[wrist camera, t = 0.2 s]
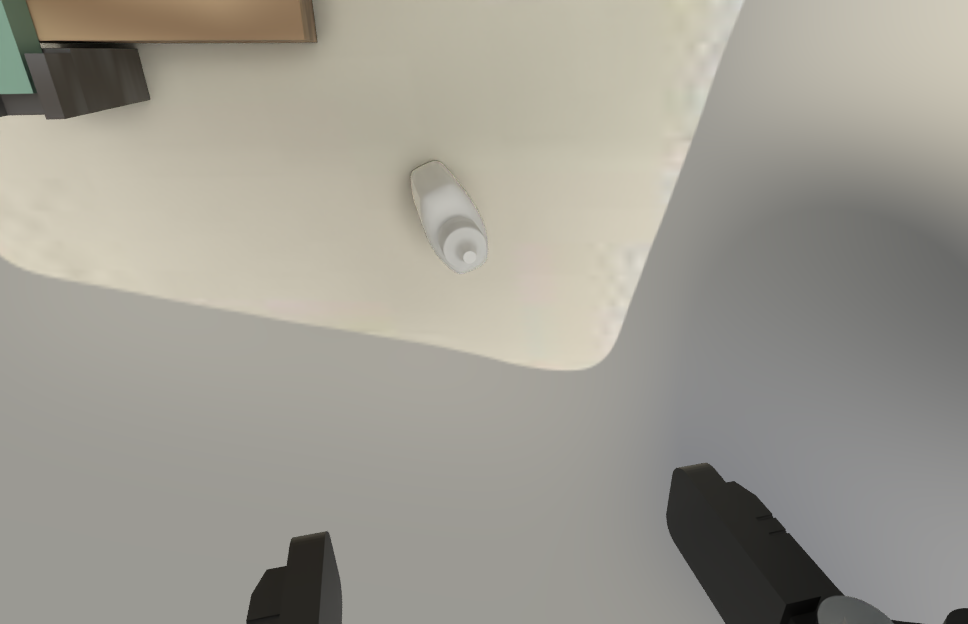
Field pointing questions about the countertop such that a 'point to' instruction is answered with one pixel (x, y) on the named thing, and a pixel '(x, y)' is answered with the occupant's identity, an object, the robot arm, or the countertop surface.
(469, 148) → the countertop surface
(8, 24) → the green bar
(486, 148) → the countertop surface
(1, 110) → the wooden box
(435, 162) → the eye dropper bottle
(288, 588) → the robot arm
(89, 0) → the lid
